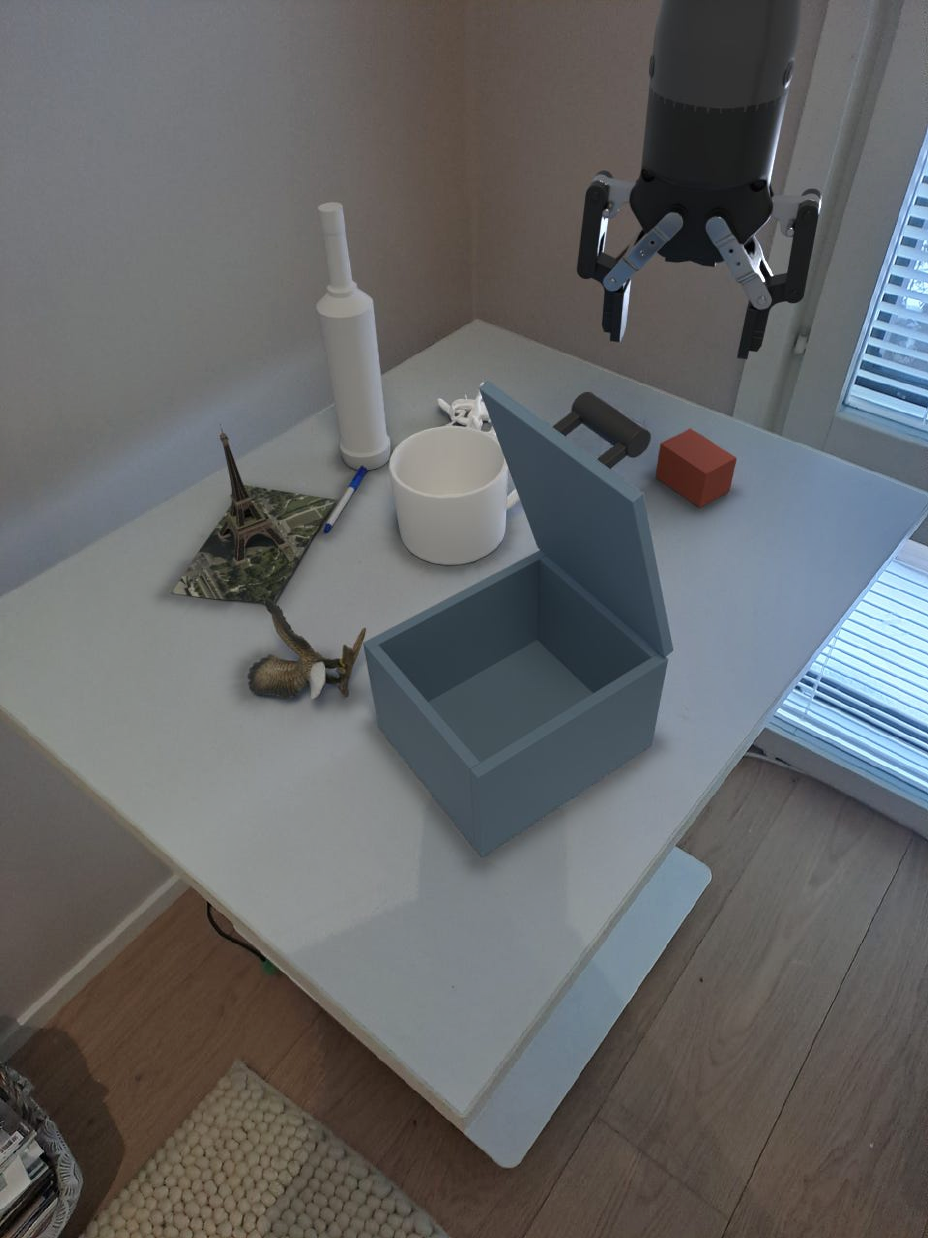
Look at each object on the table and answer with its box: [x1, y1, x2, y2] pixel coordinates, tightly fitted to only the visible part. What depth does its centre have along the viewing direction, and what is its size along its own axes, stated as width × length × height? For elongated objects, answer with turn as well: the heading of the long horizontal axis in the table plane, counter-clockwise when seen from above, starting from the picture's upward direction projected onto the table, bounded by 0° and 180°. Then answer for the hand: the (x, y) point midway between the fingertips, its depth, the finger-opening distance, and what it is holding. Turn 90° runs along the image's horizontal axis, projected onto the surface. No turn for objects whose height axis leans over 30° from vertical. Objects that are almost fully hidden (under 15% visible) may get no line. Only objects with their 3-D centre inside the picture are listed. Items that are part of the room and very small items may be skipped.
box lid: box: [478, 380, 674, 657], centre depth 57 cm, size 16×14×5 cm
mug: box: [388, 425, 520, 566], centre depth 81 cm, size 13×10×8 cm
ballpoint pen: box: [323, 466, 368, 534], centre depth 88 cm, size 10×1×1 cm, turn 164°
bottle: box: [315, 201, 392, 471], centre depth 84 cm, size 5×5×25 cm
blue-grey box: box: [362, 549, 669, 858], centre depth 64 cm, size 16×14×10 cm
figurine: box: [436, 382, 498, 440], centre depth 94 cm, size 3×8×8 cm
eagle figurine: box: [247, 597, 367, 700], centre depth 70 cm, size 8×7×9 cm
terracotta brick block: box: [655, 428, 738, 508], centre depth 86 cm, size 6×4×4 cm, turn 35°
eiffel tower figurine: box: [171, 423, 337, 604], centre depth 79 cm, size 15×10×13 cm
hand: (679, 344), depth 61 cm, fingers open, 8 cm apart
